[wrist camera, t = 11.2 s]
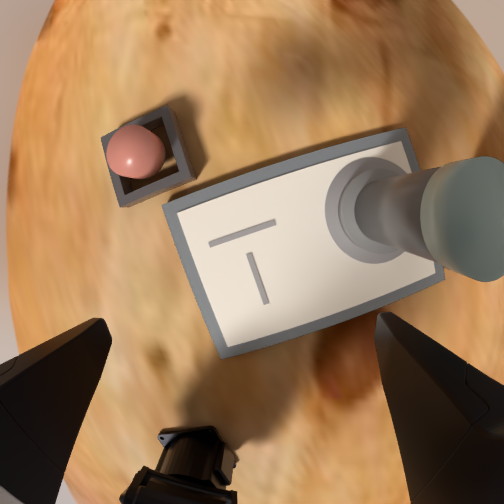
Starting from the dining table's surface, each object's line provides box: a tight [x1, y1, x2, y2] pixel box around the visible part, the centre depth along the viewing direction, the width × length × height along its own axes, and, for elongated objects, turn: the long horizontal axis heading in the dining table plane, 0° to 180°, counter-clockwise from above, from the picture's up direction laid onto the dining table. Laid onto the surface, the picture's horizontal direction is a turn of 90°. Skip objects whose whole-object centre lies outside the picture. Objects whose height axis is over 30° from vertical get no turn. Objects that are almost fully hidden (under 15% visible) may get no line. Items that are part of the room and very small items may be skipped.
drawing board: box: [162, 127, 445, 359], centre depth 22 cm, size 20×13×1 cm, turn 109°
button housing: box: [101, 105, 196, 207], centre depth 22 cm, size 6×6×2 cm
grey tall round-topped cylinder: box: [338, 156, 504, 282], centre depth 15 cm, size 6×6×13 cm
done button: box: [106, 125, 166, 179], centre depth 20 cm, size 4×4×3 cm
